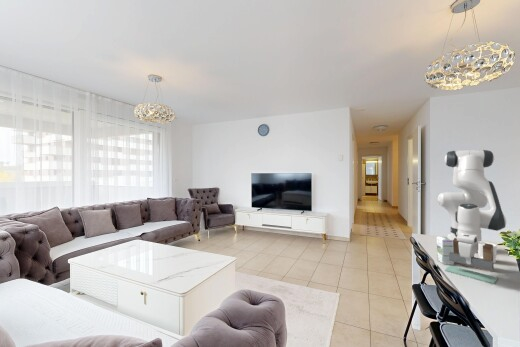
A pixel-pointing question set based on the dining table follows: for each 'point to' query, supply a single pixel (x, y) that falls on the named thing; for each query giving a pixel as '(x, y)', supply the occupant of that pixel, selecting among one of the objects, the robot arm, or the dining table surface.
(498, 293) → the dining table surface
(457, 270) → the mat
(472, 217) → the robot arm
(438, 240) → the syrup box
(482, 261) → the rail
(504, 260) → the dining table surface
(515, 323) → the dining table surface
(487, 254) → the rack
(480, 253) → the white cup
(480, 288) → the dining table surface
